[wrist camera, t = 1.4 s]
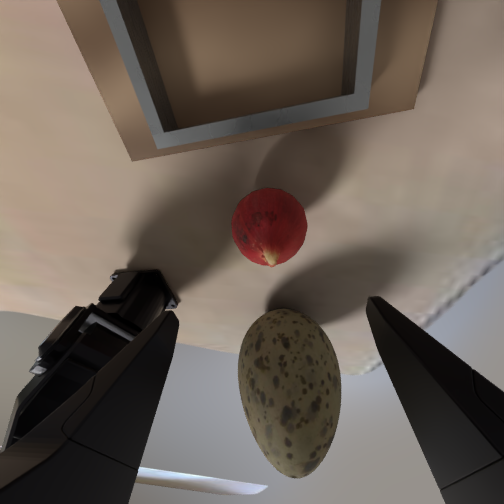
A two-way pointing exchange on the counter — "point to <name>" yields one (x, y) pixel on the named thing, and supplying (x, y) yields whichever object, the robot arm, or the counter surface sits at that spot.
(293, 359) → the decorative egg
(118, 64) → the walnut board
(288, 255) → the onion
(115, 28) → the square metal frame
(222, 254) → the counter surface
